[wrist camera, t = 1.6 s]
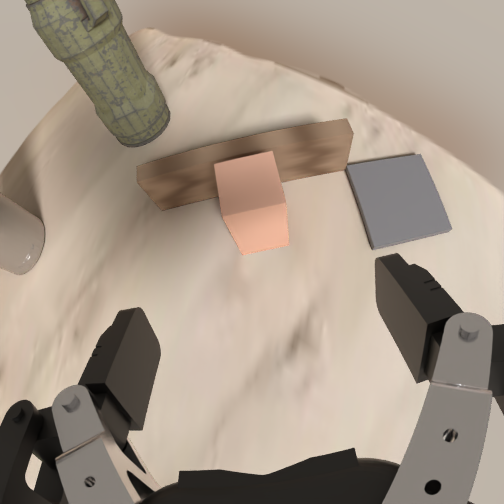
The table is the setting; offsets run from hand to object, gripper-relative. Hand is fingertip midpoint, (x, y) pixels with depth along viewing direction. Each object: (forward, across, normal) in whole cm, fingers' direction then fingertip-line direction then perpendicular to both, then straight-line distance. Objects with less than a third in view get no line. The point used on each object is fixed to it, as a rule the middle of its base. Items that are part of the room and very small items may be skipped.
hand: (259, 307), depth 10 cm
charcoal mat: (+24, -16, +7) cm, 29 cm away
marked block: (+24, 0, +7) cm, 25 cm away
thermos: (+38, +14, -8) cm, 41 cm away
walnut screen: (+28, 0, +3) cm, 28 cm away
